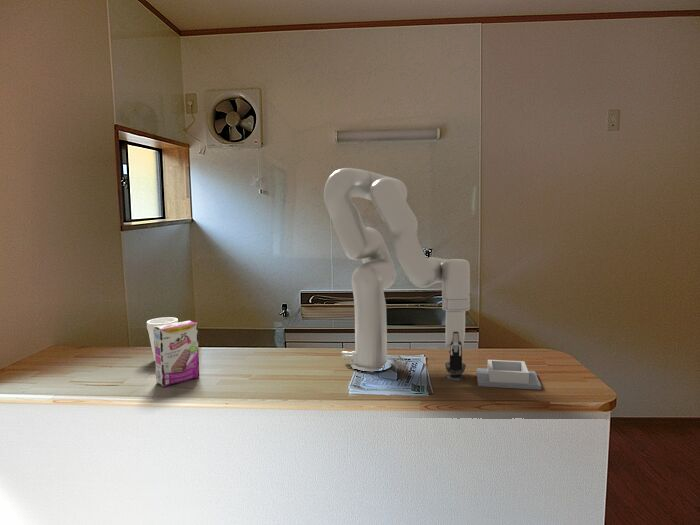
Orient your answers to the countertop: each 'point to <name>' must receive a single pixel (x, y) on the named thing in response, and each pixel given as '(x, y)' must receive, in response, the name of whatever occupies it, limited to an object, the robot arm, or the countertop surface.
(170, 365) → the candy bar box
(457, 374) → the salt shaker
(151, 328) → the foam cup
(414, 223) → the robot arm
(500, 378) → the holder
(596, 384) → the countertop surface
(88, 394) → the countertop surface
